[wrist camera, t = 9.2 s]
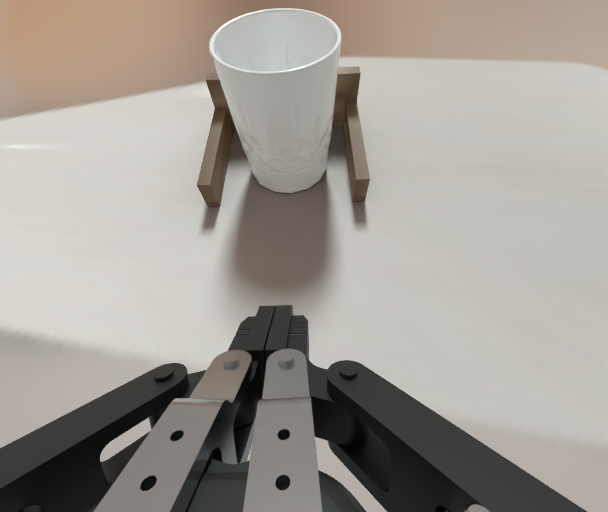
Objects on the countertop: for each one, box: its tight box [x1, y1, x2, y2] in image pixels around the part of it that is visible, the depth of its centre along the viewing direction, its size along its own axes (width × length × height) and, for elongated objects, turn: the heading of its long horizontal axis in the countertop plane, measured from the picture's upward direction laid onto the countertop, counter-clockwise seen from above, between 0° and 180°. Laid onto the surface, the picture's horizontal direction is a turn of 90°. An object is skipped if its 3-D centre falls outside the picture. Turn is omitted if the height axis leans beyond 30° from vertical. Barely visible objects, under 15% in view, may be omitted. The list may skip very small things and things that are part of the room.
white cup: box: [209, 8, 341, 193], centre depth 21 cm, size 8×8×10 cm
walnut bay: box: [197, 67, 370, 206], centre depth 24 cm, size 13×10×5 cm
